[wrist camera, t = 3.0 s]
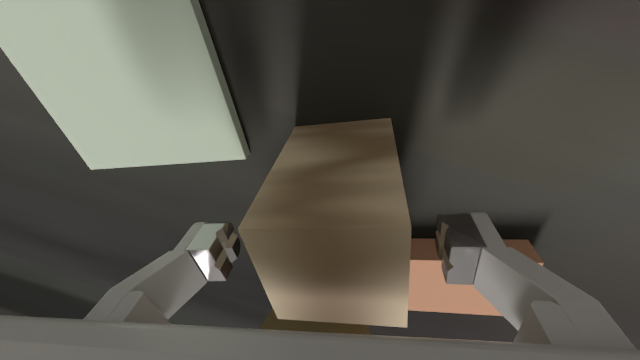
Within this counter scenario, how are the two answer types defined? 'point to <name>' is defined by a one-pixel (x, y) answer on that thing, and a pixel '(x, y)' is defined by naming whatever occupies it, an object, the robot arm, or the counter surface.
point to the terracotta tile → (450, 298)
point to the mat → (126, 79)
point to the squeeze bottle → (312, 326)
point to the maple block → (334, 227)
